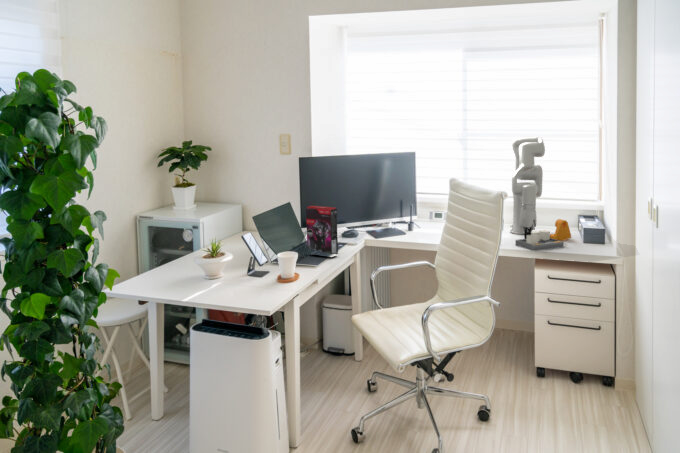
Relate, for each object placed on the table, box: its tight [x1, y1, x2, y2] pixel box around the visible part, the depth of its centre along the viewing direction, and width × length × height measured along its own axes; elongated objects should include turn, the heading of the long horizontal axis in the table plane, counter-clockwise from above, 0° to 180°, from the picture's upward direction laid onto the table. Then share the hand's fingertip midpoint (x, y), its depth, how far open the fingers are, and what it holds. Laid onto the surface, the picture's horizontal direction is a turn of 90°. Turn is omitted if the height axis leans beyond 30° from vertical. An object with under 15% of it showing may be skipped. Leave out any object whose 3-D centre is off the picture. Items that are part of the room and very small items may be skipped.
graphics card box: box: [305, 205, 339, 255], centre depth 340 cm, size 17×7×27 cm, turn 56°
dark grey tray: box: [515, 238, 565, 252], centre depth 354 cm, size 16×21×3 cm
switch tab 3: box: [537, 229, 551, 240], centre depth 359 cm, size 4×5×5 cm
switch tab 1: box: [526, 234, 538, 245], centre depth 349 cm, size 4×5×5 cm
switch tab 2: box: [531, 230, 541, 241], centre depth 357 cm, size 4×5×5 cm
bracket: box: [550, 218, 572, 242], centre depth 369 cm, size 11×7×12 cm, turn 110°
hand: (527, 238), depth 353 cm, fingers closed
